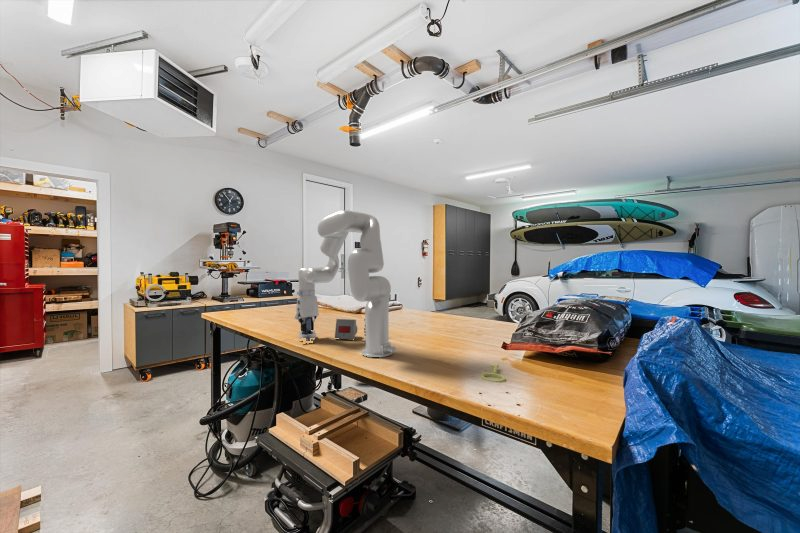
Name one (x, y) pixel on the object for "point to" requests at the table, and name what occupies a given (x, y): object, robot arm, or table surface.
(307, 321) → the pin
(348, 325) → the voltmeter
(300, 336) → the chain ends
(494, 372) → the key
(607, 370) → the table surface
